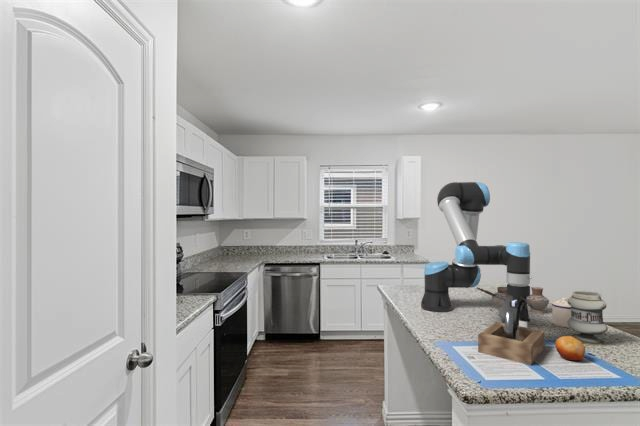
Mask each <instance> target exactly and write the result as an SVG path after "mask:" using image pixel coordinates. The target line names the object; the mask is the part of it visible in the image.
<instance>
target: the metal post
mask: <svg viewBox="0 0 640 426" xmlns="http://www.w3.org/2000/svg"><path fill="white" fill-rule="evenodd" d="M504 323H505V338H509V339H513V312H511V311H505V322H504Z"/></svg>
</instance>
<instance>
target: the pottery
mask: <svg viewBox="0 0 640 426" xmlns="http://www.w3.org/2000/svg"><path fill="white" fill-rule="evenodd" d="M496 289H497V292H495V293H494V294H495V295H497V296H500V297H502V298H505V299H506V294H505V292H507V286H498V287H497V288H496ZM530 290H531V292H532V293H530V296H528V297H527V306H528V307H529V308H530V312H531V313H535V314H544V313H545V311H544V310H546V309H547V307H548V305H549V303H550V300H549V298H547V297H546V296H544V295H543V291H544V288H543V287H541V286H540V287H539V286H532V287H531V286H530ZM491 299H492V301H493V302H494V304H495V305H496V306H497V309H498V310H500V309H501V307H502V305H503V303H504V300H502V299H500V298H497V297H495V296H492V295H491Z"/></svg>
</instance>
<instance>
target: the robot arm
mask: <svg viewBox="0 0 640 426" xmlns="http://www.w3.org/2000/svg"><path fill="white" fill-rule="evenodd" d="M436 200H437V202H436V203H437V207H438V209H439V210H440V211H441V212H442V213H443V215H444V218H445V219H446V222H447V224H448V226H449V227H448V228H449V229H450V231H451V234H452V236H453V238H454V241H455V244H456V248H455V251H454V257H455V258H453V259H452V261H451V264H449V262H447V261H431V262H427V263H426V264H425V265H424V273H423V274H424V293H423V295H422V296H423V297H422V299H421V302H420V305H421V306H420V307H421V309H423V310H426V311H430V312H435V313H436V312H437V313H442V312H443V313H444V312H445V313H446V312H451V311H453V303H452V300H451V297H450V294H449V289H450V288H455V289H456V288H457V289H459V288H463V289H465V288H466V289H469V288H475V287H477V286H478V285H479V283H480V282H481V278H482V277H481V275H482V273H481V268H480V266H479V265H481V266H482V265H485V266H487V265H488V266H496V265H497V266H506V283H507V285H506V287H507V294H509V295H512V296H513V300H510V302H509V303H510V308H509V311H511V312H513V340H518V330H517V329H518V326H521V327H526V328H528V323H530V322H531V319H530V315H529V308H528V307H529V306H528V304H527V297H528V296H530V295H531V285H530V284H531V280H532V279H533V278H532V276H531V252H530V245H529V244H528V243H527V242H519V241H517V242H512V241H511V242H507V244H506V246H505V245H503V244H496V245H479V244H478V242H477V240H478V230H479V221H480V214H482V213H483V212H484V208H486V207H488V206H489V204H490V201H491V194H490V190H489V187H488V186H487V185H486V183H483V182H476V181H473V182H472V181H470V182H469V181H465V182H463V181H461V182H457V181H455V182H450V183H447V184H445V185H444V186H442V188H440V191H439V192H438V193H437V197H436ZM519 318H520V320H521V321H519ZM518 322H519V325H518Z"/></svg>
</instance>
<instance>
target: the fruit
mask: <svg viewBox="0 0 640 426" xmlns="http://www.w3.org/2000/svg"><path fill="white" fill-rule="evenodd" d="M555 349H556V351H557V353H558V355H559V356H560V357H562V358H563V360H567V361H581V360H583V359H584V358H585V356H586V355H585V354H586V346H585V345H584V343H582V342H581V341H580V340H578V339H576V338H574V337H572V335H565V336H564V335H563V336H560V337H558V338H557V339H556V340H555Z"/></svg>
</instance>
